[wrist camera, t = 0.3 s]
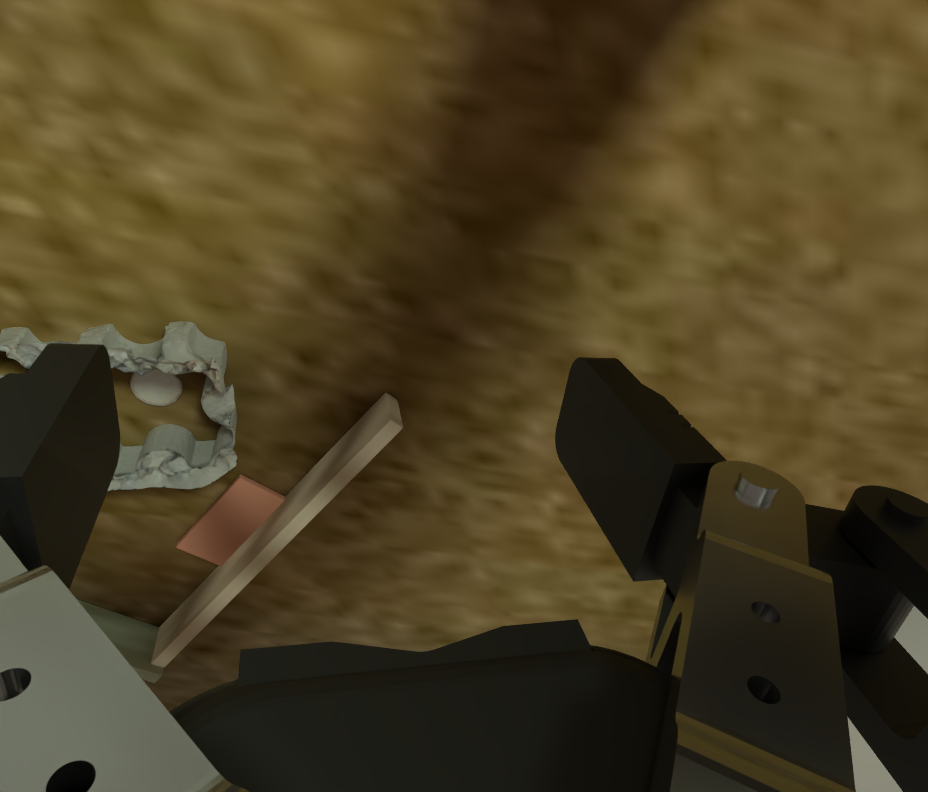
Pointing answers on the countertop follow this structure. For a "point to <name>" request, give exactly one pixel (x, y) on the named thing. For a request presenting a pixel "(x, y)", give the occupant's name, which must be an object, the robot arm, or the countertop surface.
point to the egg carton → (160, 402)
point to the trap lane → (246, 541)
